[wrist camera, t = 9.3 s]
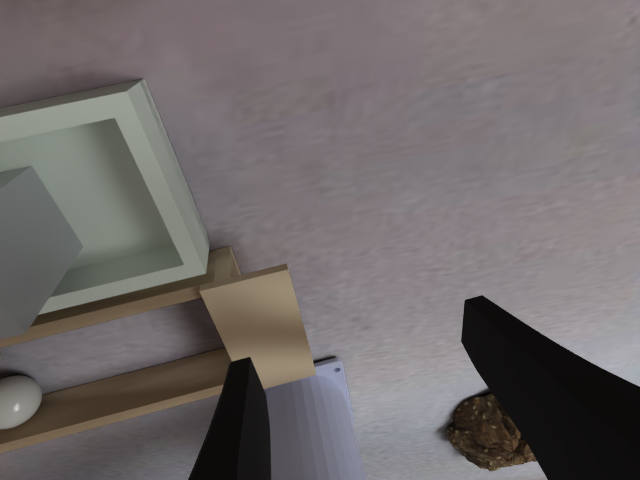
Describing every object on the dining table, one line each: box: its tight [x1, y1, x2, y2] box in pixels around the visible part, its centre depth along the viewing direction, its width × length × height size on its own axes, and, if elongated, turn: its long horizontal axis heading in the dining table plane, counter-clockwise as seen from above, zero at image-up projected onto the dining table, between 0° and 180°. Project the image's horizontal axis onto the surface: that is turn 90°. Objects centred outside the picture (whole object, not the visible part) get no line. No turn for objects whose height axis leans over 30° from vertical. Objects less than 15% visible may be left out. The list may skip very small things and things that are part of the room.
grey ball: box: [0, 375, 42, 429], centre depth 22 cm, size 3×3×3 cm
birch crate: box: [0, 246, 316, 453], centre depth 21 cm, size 9×24×4 cm, turn 100°
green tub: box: [0, 79, 210, 315], centre depth 16 cm, size 9×16×3 cm, turn 100°
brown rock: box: [446, 393, 537, 471], centre depth 36 cm, size 13×12×5 cm
